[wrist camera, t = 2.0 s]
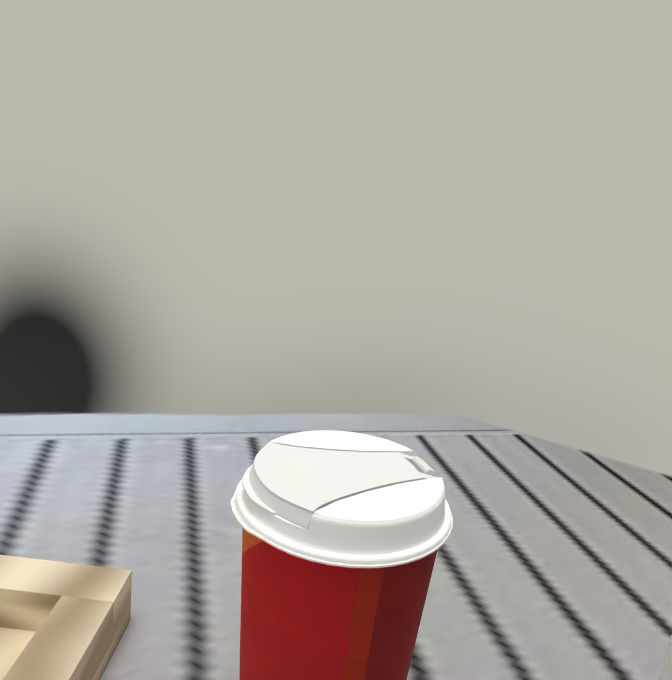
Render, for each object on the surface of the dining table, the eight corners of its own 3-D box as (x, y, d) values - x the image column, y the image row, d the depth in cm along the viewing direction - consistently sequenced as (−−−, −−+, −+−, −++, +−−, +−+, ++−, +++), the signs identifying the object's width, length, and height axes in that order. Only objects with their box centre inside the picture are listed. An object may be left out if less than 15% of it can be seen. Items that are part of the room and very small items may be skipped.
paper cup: (358, 691, 31) (398, 421, 27) (437, 849, 24) (504, 515, 20) (193, 726, 28) (214, 428, 24) (229, 917, 21) (265, 541, 17)
